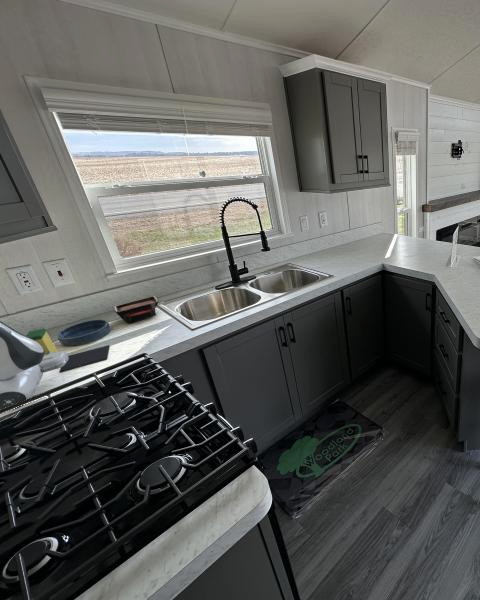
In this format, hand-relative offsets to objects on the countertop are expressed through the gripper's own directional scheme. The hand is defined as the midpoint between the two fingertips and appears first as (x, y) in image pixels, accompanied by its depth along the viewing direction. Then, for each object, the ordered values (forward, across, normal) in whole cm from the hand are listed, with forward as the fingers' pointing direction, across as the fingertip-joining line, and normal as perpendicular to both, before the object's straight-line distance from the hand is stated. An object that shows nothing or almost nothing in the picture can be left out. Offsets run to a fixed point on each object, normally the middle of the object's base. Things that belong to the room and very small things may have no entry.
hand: (33, 357), depth 120 cm
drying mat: (+3, -12, +7) cm, 14 cm away
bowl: (+26, -10, +7) cm, 29 cm away
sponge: (+12, 0, +7) cm, 14 cm away
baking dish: (+34, -30, +7) cm, 46 cm away
